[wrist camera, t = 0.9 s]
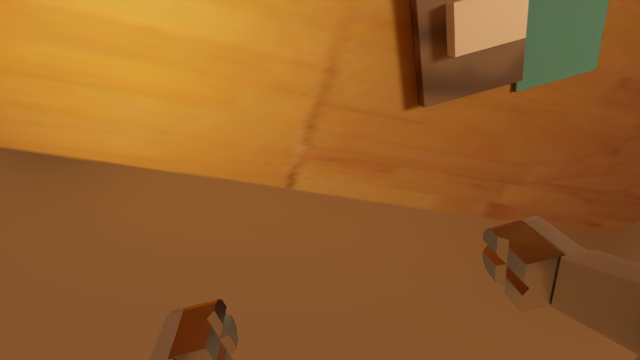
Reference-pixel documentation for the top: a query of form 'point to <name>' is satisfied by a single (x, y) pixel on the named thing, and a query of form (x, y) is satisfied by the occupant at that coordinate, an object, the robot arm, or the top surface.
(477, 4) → the tile
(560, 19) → the mat
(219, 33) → the top surface
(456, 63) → the brown wooden board
